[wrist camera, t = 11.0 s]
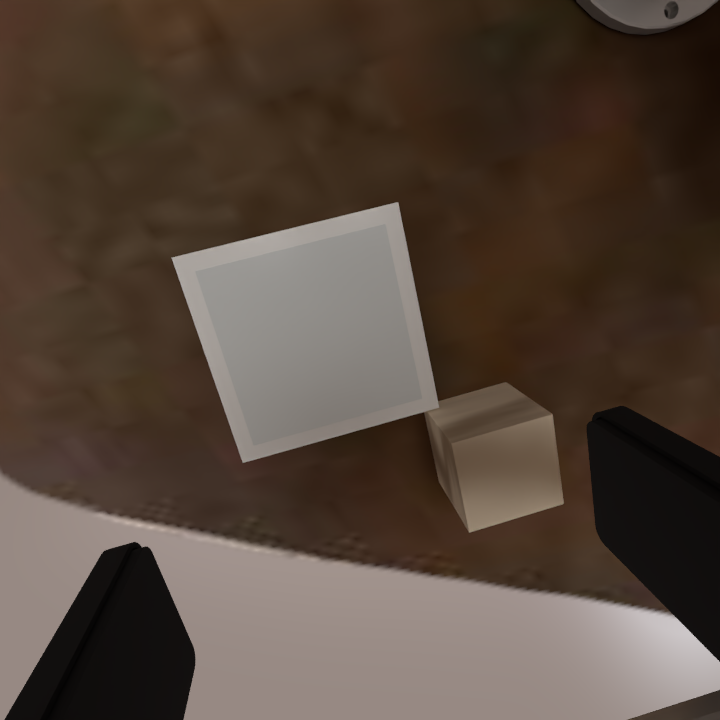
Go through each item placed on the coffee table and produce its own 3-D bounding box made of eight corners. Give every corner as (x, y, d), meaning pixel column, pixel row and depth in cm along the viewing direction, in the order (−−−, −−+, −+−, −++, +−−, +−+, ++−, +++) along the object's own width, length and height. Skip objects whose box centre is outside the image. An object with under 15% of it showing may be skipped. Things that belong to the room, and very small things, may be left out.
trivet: (176, 256, 27) (171, 258, 26) (393, 203, 28) (398, 201, 27) (244, 454, 31) (242, 464, 29) (433, 401, 32) (439, 408, 30)
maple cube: (552, 414, 26) (505, 381, 32) (451, 443, 26) (422, 405, 32) (563, 503, 28) (517, 457, 34) (469, 532, 28) (438, 481, 33)
